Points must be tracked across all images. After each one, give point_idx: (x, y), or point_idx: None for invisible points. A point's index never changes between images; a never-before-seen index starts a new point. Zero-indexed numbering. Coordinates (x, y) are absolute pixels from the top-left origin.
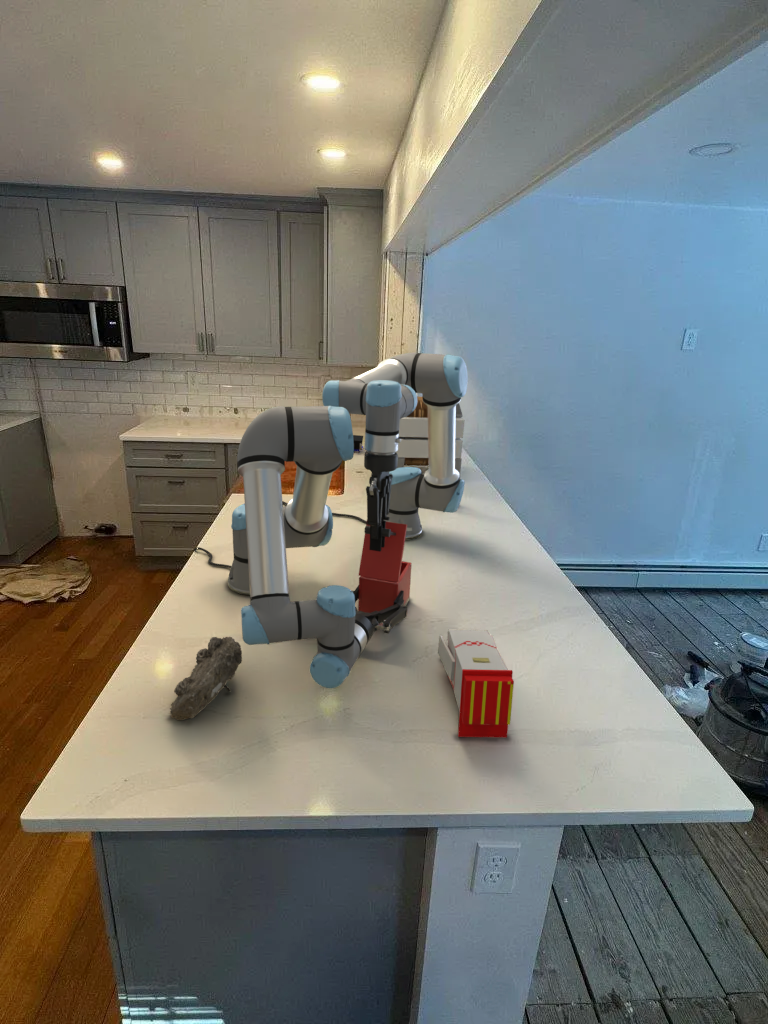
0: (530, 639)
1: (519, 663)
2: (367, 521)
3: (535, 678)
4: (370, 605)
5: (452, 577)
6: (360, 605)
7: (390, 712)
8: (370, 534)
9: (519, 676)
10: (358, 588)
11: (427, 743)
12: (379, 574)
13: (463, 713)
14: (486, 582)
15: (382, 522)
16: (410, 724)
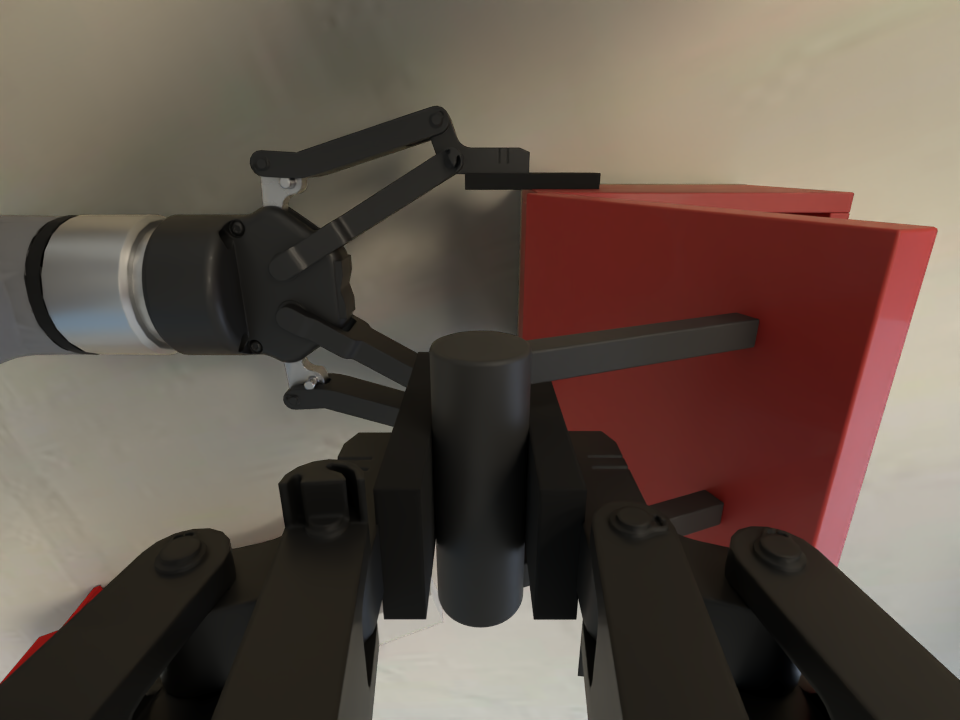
0: (560, 681)
1: (437, 665)
2: (118, 580)
3: (389, 695)
4: (523, 246)
5: (934, 449)
6: (524, 197)
7: (83, 439)
8: (395, 422)
9: (381, 668)
10: (537, 186)
11: (40, 534)
12: (534, 324)
13: (26, 656)
14: (903, 557)
15: (532, 587)
16: (73, 490)
